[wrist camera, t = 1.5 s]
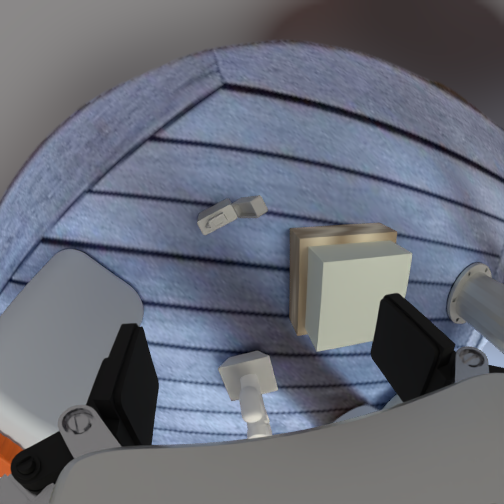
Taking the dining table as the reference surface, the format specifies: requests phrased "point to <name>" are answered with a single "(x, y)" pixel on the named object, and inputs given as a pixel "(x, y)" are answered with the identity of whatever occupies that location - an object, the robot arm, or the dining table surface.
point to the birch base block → (319, 237)
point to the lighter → (230, 212)
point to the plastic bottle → (57, 345)
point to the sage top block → (351, 289)
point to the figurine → (250, 388)
